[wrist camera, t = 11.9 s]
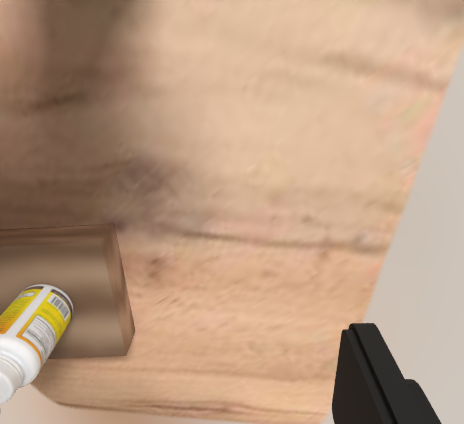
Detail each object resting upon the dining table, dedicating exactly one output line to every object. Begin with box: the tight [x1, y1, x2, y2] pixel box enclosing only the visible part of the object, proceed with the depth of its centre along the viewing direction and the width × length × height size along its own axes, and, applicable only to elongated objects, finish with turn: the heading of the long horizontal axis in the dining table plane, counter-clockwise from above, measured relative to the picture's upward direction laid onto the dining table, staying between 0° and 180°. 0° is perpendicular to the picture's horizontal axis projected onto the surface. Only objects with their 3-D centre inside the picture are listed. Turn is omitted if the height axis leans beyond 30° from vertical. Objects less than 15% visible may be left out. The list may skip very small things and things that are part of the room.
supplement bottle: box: [0, 284, 73, 404], centre depth 33 cm, size 6×6×10 cm
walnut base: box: [0, 224, 135, 359], centre depth 39 cm, size 14×14×4 cm
